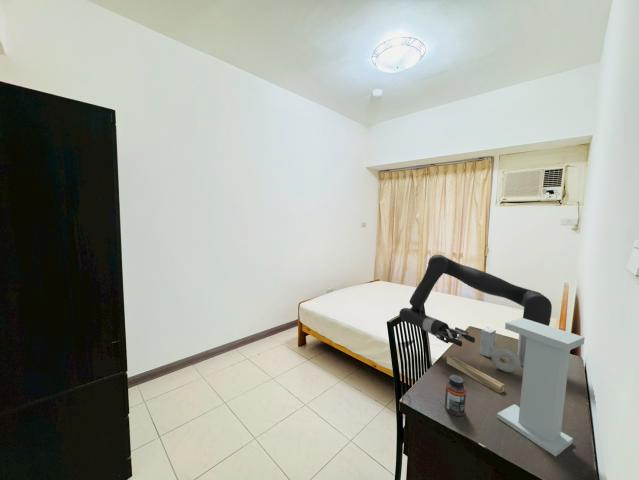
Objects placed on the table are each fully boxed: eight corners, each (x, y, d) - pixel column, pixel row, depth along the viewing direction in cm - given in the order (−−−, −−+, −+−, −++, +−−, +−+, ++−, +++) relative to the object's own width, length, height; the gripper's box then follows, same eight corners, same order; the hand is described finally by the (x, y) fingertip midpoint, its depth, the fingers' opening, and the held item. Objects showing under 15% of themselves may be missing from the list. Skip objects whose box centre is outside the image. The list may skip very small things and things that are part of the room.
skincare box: (488, 357, 119) (491, 333, 118) (478, 353, 123) (480, 329, 122) (494, 354, 123) (496, 330, 122) (484, 350, 126) (486, 326, 125)
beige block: (450, 362, 115) (451, 355, 115) (503, 392, 96) (504, 384, 96) (446, 363, 114) (447, 357, 114) (499, 394, 94) (500, 386, 94)
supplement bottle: (448, 401, 89) (450, 370, 88) (466, 410, 85) (469, 378, 84) (441, 409, 85) (444, 378, 84) (461, 420, 81) (463, 386, 80)
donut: (489, 368, 111) (491, 346, 110) (490, 365, 113) (492, 343, 112) (519, 377, 104) (521, 354, 103) (519, 374, 107) (521, 351, 106)
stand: (513, 408, 87) (522, 317, 84) (572, 443, 74) (584, 337, 71) (497, 417, 82) (505, 322, 80) (555, 456, 69) (568, 344, 66)
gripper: (425, 321, 117) (457, 336, 103) (445, 317, 124) (479, 330, 109) (424, 337, 118) (456, 354, 104) (444, 332, 124) (477, 347, 110)
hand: (468, 342), depth 106 cm, fingers open, 8 cm apart
